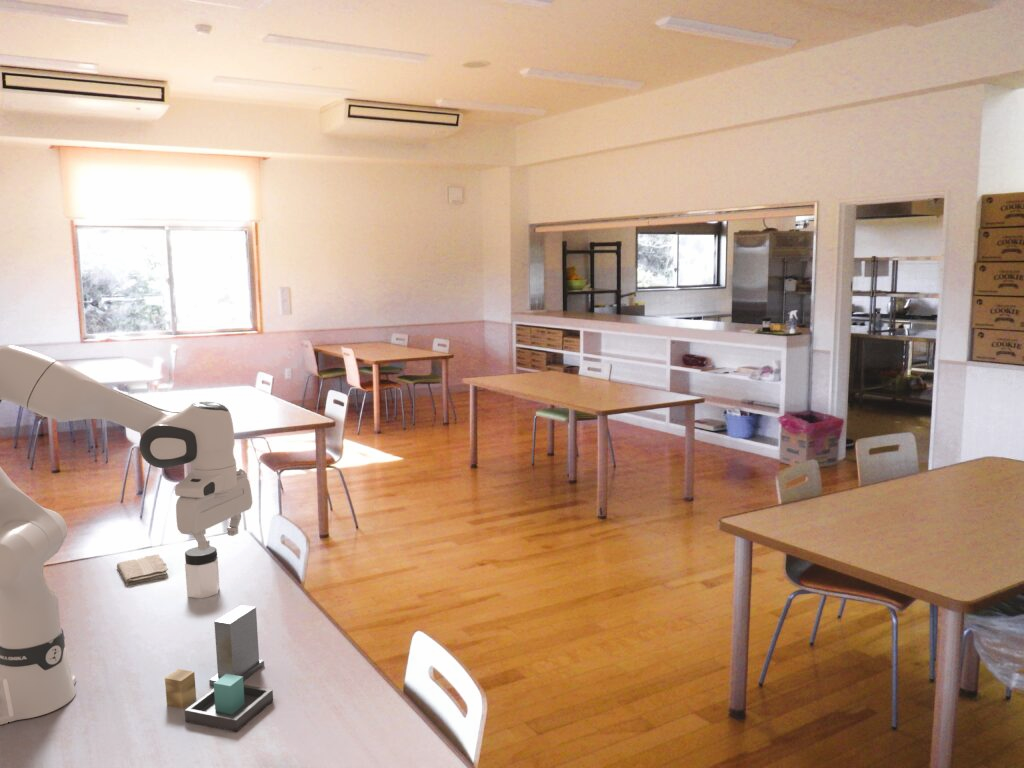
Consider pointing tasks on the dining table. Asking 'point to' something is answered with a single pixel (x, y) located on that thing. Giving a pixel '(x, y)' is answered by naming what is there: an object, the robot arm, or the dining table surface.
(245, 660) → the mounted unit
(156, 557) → the washcloth
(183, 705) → the ochre block
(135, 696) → the dining table surface
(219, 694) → the teal block
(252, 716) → the black tray
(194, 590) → the jar
